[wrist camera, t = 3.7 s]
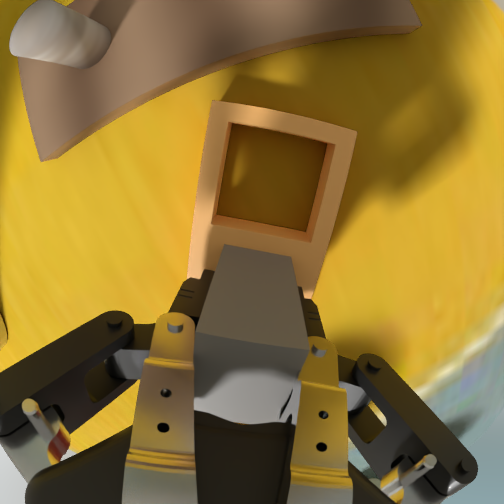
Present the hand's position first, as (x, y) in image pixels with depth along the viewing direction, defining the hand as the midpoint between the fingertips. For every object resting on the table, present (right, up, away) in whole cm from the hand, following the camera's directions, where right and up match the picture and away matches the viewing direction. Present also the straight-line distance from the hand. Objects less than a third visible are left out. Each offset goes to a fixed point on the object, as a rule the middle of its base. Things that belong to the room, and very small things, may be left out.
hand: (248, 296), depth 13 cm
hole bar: (0, +1, +2) cm, 2 cm away
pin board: (-3, +14, -3) cm, 14 cm away
